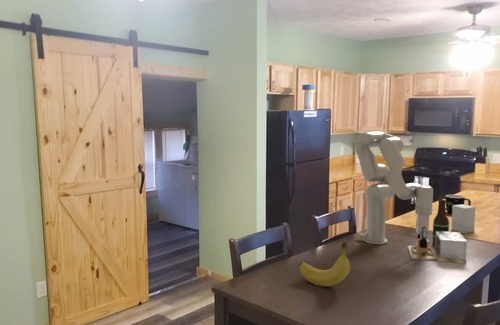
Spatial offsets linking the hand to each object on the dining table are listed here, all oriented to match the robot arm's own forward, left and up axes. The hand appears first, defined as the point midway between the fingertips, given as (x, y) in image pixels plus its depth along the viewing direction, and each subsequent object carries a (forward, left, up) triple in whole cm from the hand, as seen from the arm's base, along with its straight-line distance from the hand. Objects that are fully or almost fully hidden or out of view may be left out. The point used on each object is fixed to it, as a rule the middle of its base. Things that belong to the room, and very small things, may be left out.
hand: (421, 244), depth 206 cm
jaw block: (0, 0, -4) cm, 4 cm away
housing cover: (+13, 0, -3) cm, 13 cm away
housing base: (+6, 0, -5) cm, 8 cm away
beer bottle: (+11, +19, -5) cm, 22 cm away
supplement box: (+28, +51, -5) cm, 58 cm away
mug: (+32, +100, -5) cm, 105 cm away
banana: (-43, -52, -5) cm, 68 cm away
